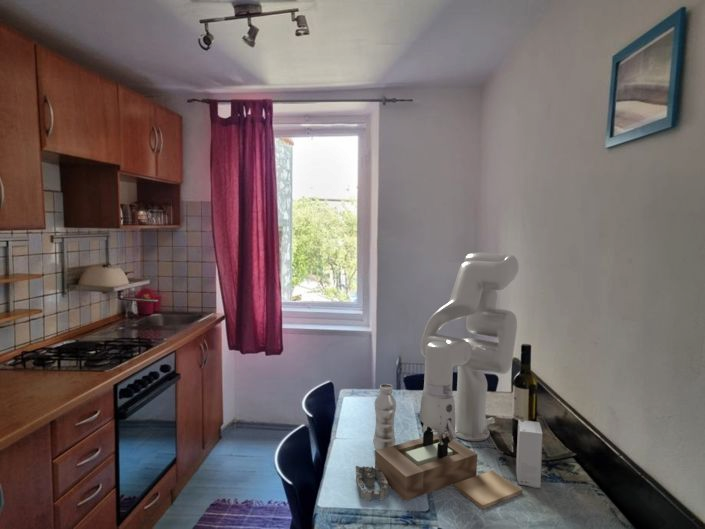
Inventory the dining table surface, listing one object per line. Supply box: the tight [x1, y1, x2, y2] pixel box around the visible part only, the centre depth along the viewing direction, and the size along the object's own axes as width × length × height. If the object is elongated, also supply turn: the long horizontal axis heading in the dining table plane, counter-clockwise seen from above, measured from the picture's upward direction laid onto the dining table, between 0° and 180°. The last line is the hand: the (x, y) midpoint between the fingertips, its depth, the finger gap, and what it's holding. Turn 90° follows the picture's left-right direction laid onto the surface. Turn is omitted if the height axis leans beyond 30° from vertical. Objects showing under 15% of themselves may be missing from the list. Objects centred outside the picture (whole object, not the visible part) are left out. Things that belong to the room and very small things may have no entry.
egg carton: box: [355, 465, 389, 502], centre depth 114 cm, size 11×8×4 cm
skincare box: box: [515, 419, 544, 489], centre depth 119 cm, size 8×6×15 cm
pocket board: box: [374, 433, 478, 502], centre depth 120 cm, size 24×14×6 cm, turn 119°
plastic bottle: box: [372, 383, 397, 450], centre depth 132 cm, size 6×7×20 cm
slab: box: [405, 443, 453, 466], centre depth 120 cm, size 12×5×2 cm, turn 119°
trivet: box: [453, 470, 523, 510], centre depth 114 cm, size 14×10×1 cm
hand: (434, 450), depth 121 cm, fingers closed on slab, 5 cm apart
